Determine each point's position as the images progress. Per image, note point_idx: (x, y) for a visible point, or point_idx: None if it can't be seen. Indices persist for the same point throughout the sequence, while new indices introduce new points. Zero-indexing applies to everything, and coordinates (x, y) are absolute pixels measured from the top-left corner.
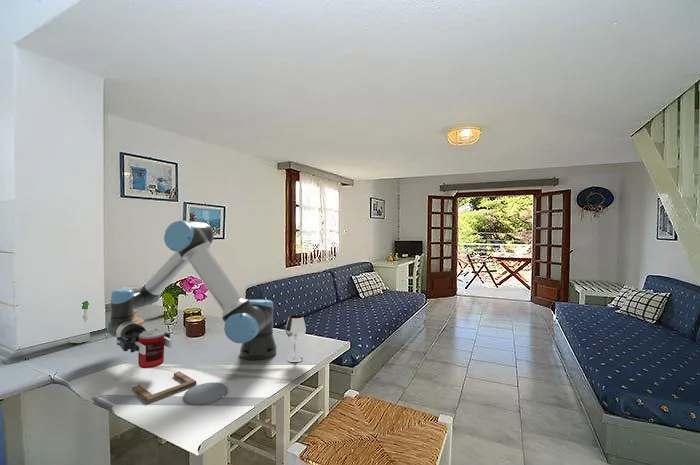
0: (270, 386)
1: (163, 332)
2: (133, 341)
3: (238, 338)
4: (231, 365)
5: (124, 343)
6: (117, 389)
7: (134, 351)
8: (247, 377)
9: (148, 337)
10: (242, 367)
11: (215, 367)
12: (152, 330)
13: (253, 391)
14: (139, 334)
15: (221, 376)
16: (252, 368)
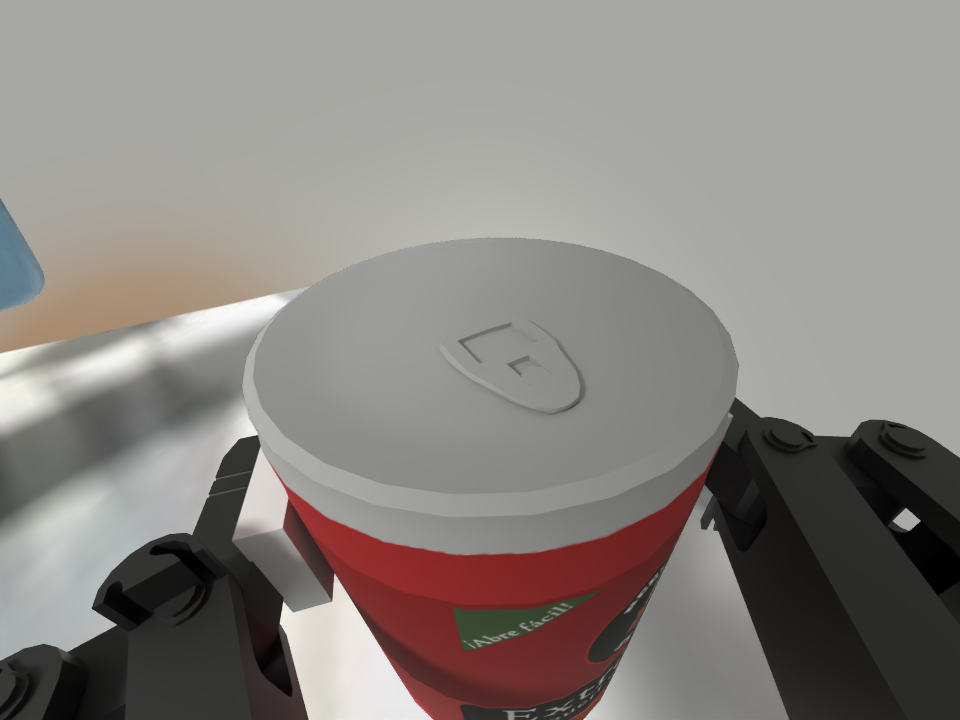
0: (214, 319)
1: (315, 285)
2: (818, 506)
3: (31, 252)
4: (48, 525)
5: (953, 463)
6: (708, 571)
7: (701, 519)
8: (181, 380)
9: (539, 246)
10: (69, 466)
11: (114, 553)
12: (409, 484)
13: (265, 317)
14: (723, 331)
15: (220, 430)
16: (72, 433)
